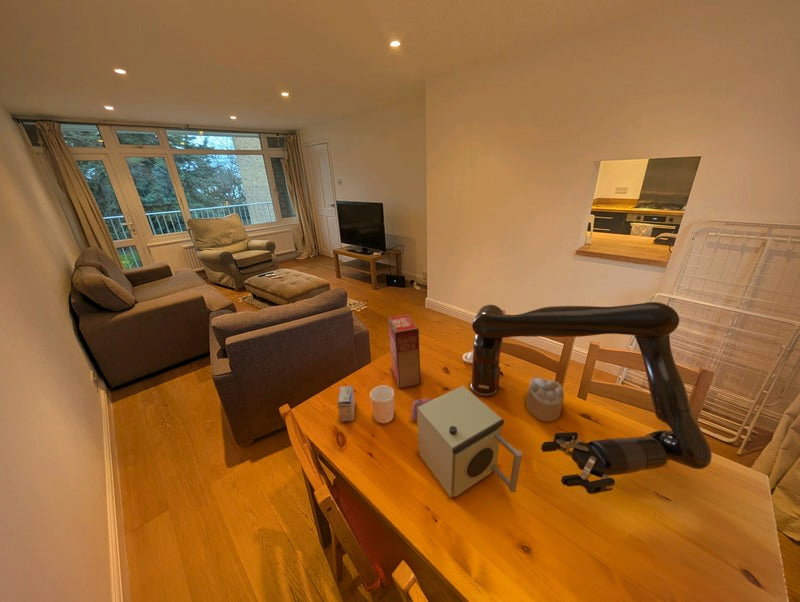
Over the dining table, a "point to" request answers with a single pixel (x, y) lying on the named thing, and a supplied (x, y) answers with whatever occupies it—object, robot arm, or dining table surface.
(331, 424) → the dining table surface
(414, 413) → the video game controller
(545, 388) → the lumpy-topped squat cylinder
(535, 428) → the dining table surface
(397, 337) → the food packaging
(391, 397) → the white cup
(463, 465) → the washer door
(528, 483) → the dining table surface
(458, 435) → the washer
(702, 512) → the dining table surface
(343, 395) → the medicine box
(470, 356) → the ring around a ball
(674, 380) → the robot arm
